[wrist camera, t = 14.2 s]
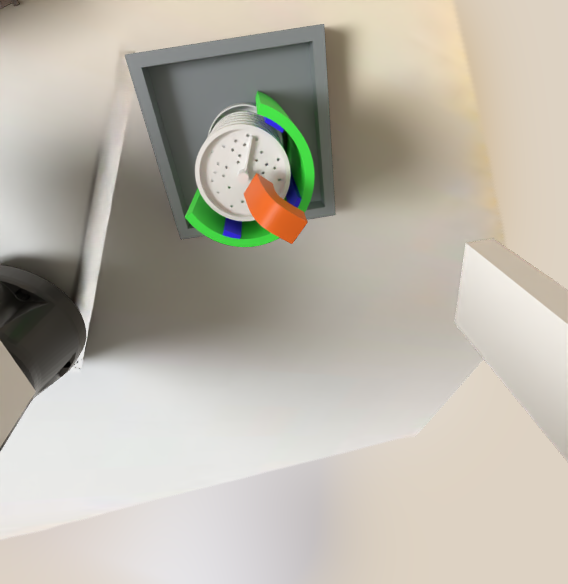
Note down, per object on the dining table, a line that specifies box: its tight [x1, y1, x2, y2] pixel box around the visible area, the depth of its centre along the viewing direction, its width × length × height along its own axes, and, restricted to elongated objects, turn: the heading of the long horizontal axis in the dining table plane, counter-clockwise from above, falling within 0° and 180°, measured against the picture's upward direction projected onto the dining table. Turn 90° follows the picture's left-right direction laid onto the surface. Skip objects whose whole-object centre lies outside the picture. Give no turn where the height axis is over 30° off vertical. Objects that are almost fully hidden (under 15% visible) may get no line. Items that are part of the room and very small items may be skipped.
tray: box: [125, 24, 335, 240], centre depth 35 cm, size 16×16×3 cm
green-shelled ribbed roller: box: [185, 91, 314, 247], centre depth 28 cm, size 9×8×18 cm
